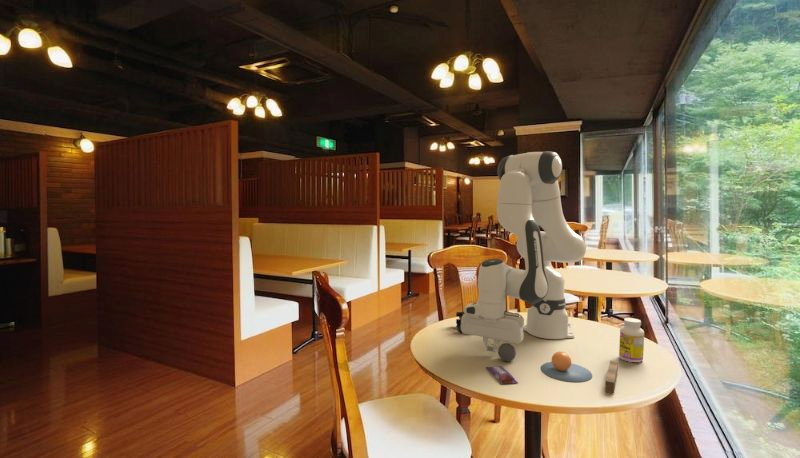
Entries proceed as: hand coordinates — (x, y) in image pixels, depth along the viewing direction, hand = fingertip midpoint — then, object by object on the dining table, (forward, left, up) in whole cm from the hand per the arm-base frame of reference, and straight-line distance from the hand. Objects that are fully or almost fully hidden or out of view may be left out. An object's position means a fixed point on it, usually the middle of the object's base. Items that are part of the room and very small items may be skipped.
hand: (490, 351), depth 129 cm
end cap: (-21, -17, -2) cm, 27 cm away
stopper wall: (0, +35, -2) cm, 35 cm away
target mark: (0, +23, -2) cm, 23 cm away
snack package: (+13, +7, -2) cm, 15 cm away
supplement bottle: (-21, +39, -2) cm, 44 cm away
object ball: (0, +22, +1) cm, 22 cm away
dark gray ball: (+1, +6, +1) cm, 6 cm away
